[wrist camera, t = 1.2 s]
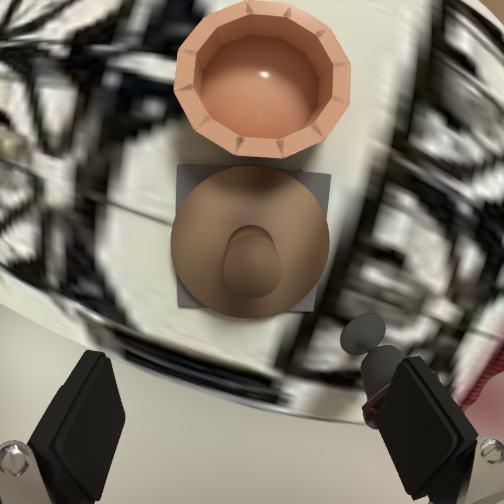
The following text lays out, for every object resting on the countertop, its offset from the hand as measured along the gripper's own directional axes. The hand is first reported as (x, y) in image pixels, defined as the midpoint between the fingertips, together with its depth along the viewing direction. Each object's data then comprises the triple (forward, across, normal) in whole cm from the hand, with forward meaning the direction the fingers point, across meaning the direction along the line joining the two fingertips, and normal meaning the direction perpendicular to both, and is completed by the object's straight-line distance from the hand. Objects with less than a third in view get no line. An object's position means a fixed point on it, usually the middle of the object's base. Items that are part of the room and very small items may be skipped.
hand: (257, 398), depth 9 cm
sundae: (+17, -12, +9) cm, 23 cm away
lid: (+17, 0, 0) cm, 17 cm away
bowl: (+17, 0, -13) cm, 21 cm away
